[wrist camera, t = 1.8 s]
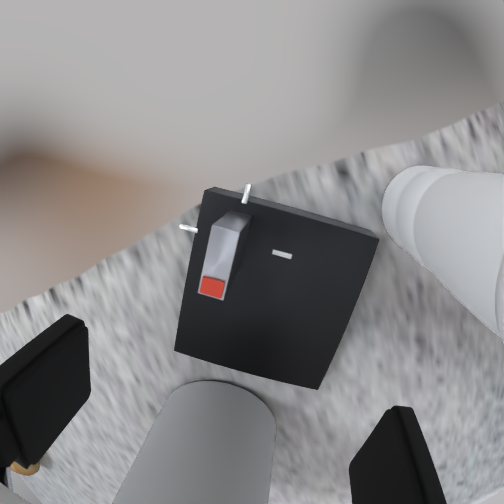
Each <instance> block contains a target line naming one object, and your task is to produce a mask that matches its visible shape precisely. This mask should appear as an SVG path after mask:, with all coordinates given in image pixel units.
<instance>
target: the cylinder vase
mask: <svg viewBox="0 0 504 504" xmlns="http://www.w3.org/2000/svg"><path fill="white" fill-rule="evenodd" d="M275 437H276V423H275V419H274V417H273V415H272V413H271V411H270V410H269V408H268V407H267V406H266V405H265V404H264V403H263V402H262V401H261V400H260V399H259V398H258V397H256V396H255V395H253V394H252V393H250V392H248V391H246V390H244V389H242V388H240V387H237V386H234V385H231V384H228V383H223V382H217V381H198V382H192V383H189V384H185V385H183V386H181V387H179V388H177V389H176V390H174V391H173V392H172V393H171V394H170V395H169V396H168V398H167V399H166V401H165V403H164V405H163V407H162V409H161V411H160V413H159V415H158V416H157V418H156V420H155V422H154V424H153V426H152V428H151V430H150V432H149V434H148V436H147V437H146V439H145V441H144V443H143V445H142V447H141V449H140V451H139V453H138V455H137V457H136V458H135V460H134V462H133V464H132V466H131V468H130V470H129V472H128V474H127V476H126V478H125V480H124V481H123V483H122V485H121V487H120V489H119V491H118V493H117V495H116V497H115V499H114V501H113V503H112V504H268V499H269V491H270V483H271V474H272V465H273V456H274V447H275Z"/></svg>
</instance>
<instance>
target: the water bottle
mask: <svg viewBox="0 0 504 504" xmlns="http://www.w3.org/2000/svg"><path fill="white" fill-rule="evenodd" d="M382 218H383V223H384V226H385V228H386V231H387V233H388V234H389V236H390V237H391V239H392V240H393V241H394V242H395V243H396V244H397V245H398V246H399V247H401V248H402V249H403V250H405V251H406V252H407V253H409V254H410V255H411V256H412V257H413V258H414V259H415V260H416V261H417V262H418V263H419V264H420V265H422V266H423V267H424V268H426V269H428V270H429V271H431V272H432V273H433V275H434V276H435V277H436V278H437V279H438V280H439V281H440V282H441V283H442V285H443V286H444V287H445V288H446V289H447V290H448V291H449V292H450V293H451V294H452V295H453V296H454V297H455V298H456V299H457V300H458V301H459V302H460V303H462V304H463V305H464V306H465V307H466V308H467V309H468V310H469V311H470V312H471V313H472V314H473V315H474V316H475V317H476V318H477V319H479V320H480V321H481V322H482V323H483V324H484V325H485V326H487V327H488V328H489V329H490V330H491V331H493V332H494V333H495V334H496V335H498V336H499V337H500V338H501V340H502V342H503V344H504V174H499V173H490V172H465V171H462V170H458V169H453V168H437V167H432V166H413V167H410V168H407V169H405V170H403V171H402V172H400V173H399V174H397V175H396V176H395V177H394V178H393V179H392V181H391V182H390V183H389V185H388V187H387V189H386V191H385V194H384V197H383V201H382Z"/></svg>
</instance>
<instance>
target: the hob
mask: <svg viewBox="0 0 504 504" xmlns="http://www.w3.org/2000/svg"><path fill="white" fill-rule="evenodd" d="M250 189H251V184H248V183H247V184H246V186H245V190H244V194H241V193H237V192H233V191H229V190H225V189H221V188H217V187H213V188H210V189H207V190H205V191H204V195H203V199H202V204H201V208H200V213H199V218H198V222H197V227H192V226H189V225H185V224H180V229H184V230H187V231H191V232H195V237H194V242H193V247H192V252H191V257H190V262H189V267H188V272H187V278H186V283H185V288H184V294H183V300H182V305H181V311H180V317H179V323H178V329H177V335H176V341H175V348H174V351H177V352H180V353H183V354H186V355H189V356H192V357H195V358H198V359H201V360H204V361H208V362H211V363H214V364H217V365H221V366H224V367H228V368H231V369H235V370H238V371H242V372H245V373H249V374H253V375H257V376H260V377H264V378H268V379H272V380H276V381H280V382H284V383H289V384H293V385H297V386H302V387H306V388H311V389H316V390H318V389H319V387H320V385H321V382H322V380H323V378H324V376H325V374H326V372H327V370H328V368H329V365H330V363H331V361H332V359H333V357H334V354H335V352H336V350H337V348H338V345H339V343H340V341H341V338H342V336H343V334H344V331H345V329H346V327H347V324H348V322H349V319H350V317H351V315H352V312H353V310H354V307H355V305H356V302H357V300H358V297H359V294H360V292H361V289H362V287H363V284H364V281H365V279H366V276H367V273H368V271H369V268H370V265H371V262H372V259H373V257H374V254H375V251H376V248H377V245H378V242H379V238H377V237H376V236H375V235H374V234H373V233H372V232H371V231H370V230H367V229H364V228H361V227H357V226H354V225H351V224H348V223H344V222H341V221H338V220H334V219H331V218H327V217H324V216H321V215H317V214H314V213H310V212H307V211H303V210H300V209H296V208H293V207H289V206H286V205H282V204H278V203H275V202H271V201H267V200H264V199H260V198H256V197H252V196H249V193H250ZM230 210H233V211H237V212H240V213H244V214H248V215H252V216H253V217H252V221H251V224H250V228H249V232H248V236H247V240H246V244H245V248H244V252H243V256H242V260H241V264H240V268H239V271H238V273H237V275H236V277H235V279H234V281H233V283H232V285H231V287H230V289H229V291H228V293H227V295H226V297H225V299H224V300H219V299H216V298H213V297H209V296H206V295H203V294H199V293H198V289H199V284H200V279H201V274H202V269H203V264H204V260H205V255H206V250H207V246H208V241H209V236H210V232H211V227H212V225H213V224H214V223H215V222H216V221H218V220H219V219H220V218H222V217H223V216H224V215H225V214H227V213H228V212H229V211H230Z"/></svg>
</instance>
